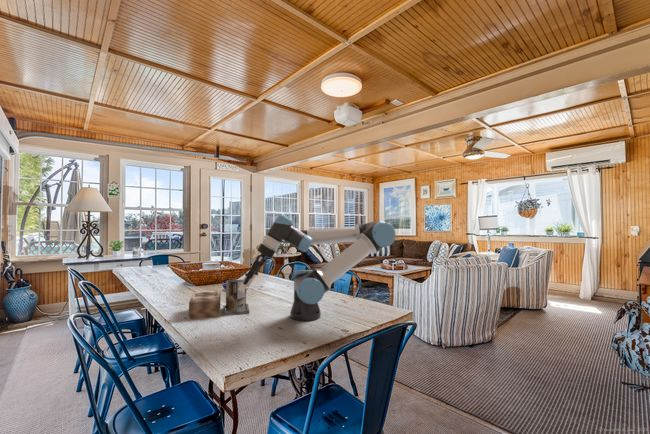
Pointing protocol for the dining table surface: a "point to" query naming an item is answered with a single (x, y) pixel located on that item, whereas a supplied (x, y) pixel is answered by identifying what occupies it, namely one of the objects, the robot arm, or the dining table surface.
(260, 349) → the dining table surface
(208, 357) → the dining table surface
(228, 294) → the coffee box
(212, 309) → the walnut caddy
